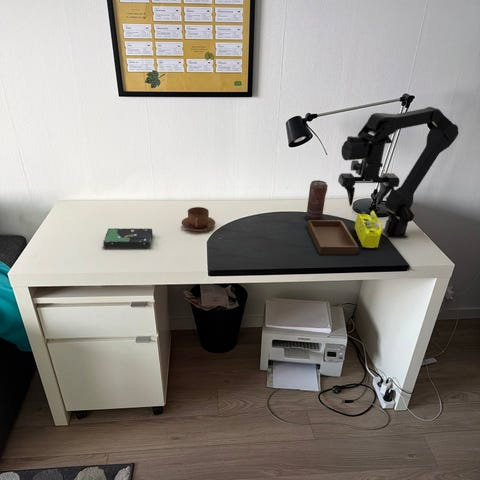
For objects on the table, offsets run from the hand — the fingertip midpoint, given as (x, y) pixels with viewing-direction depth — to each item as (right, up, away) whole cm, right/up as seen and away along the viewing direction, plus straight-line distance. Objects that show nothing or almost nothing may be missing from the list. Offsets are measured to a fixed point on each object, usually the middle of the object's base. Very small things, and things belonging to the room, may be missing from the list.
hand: (363, 205), depth 147 cm
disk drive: (-79, -13, -1) cm, 80 cm away
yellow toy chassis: (+2, -10, +7) cm, 13 cm away
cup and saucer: (-57, -5, +10) cm, 58 cm away
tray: (-10, -11, +5) cm, 16 cm away
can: (-13, 0, +20) cm, 24 cm away
